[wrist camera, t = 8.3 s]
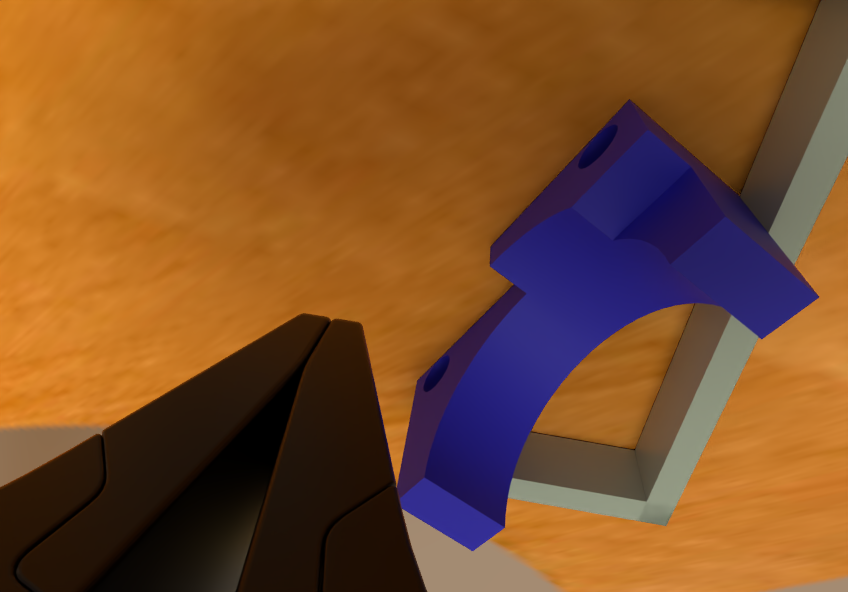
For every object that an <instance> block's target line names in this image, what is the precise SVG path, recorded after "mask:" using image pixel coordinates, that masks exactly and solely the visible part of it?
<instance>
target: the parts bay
mask: <svg viewBox="0 0 848 592" xmlns="http://www.w3.org/2000/svg"><path fill="white" fill-rule="evenodd" d="M847 156H848V0H821V1H820V3H819V6H818V8H817V11H816V13H815V16H814V18H813V20H812V23H811V25H810V28H809V30H808V32H807V35H806V37H805V40H804V42H803V45H802V47H801V49H800V52H799V54H798V57H797V59H796V62H795V64H794V66H793V69H792V71H791V74H790V76H789V78H788V81H787V83H786V86H785V88H784V91H783V93H782V95H781V98H780V100H779V103H778V105H777V107H776V110H775V112H774V115H773V117H772V120H771V122H770V124H769V127H768V129H767V132H766V134H765V136H764V139H763V141H762V144H761V146H760V149H759V151H758V153H757V156H756V158H755V161H754V163H753V165H752V168H751V170H750V173H749V175H748V178H747V180H746V182H745V185H744V187H743V190H742V192H741V195H740V198H741V199H742V200H743V202H744V203H745V204H746V205H747V207H748V208H749V209H750V210H751V212H752V213H753V214H754V215H755V217H756V218H757V219H758V220H759V222H760V223H761V224H762V225H763V227H764V228H765V229H766V231H767V232H768V233H769V234H770V236H771V237H772V238H773V239H774V241H775V242H776V243H777V244H778V246H779V247H780V248H781V249H782V251H783V252H784V253H785V254H786V256H787V257H788V258H789V259H790V261H791V262H792V263H793V265H794V264H795V262H796V260H797V258H798V256H799V254H800V252H801V250H802V248H803V246H804V244H805V242H806V240H807V238H808V236H809V234H810V232H811V230H812V227H813V225H814V223H815V221H816V219H817V217H818V215H819V213H820V211H821V209H822V207H823V205H824V203H825V201H826V199H827V197H828V195H829V193H830V191H831V189H832V187H833V185H834V183H835V181H836V179H837V177H838V174H839V172H840V170H841V168H842V166H843V164H844V162H845V160H846V158H847ZM758 338H759V337H758V336H757V335H756V334H754V333H753V332H752V331H751V330H750V329H748V328H747V327H746V326H745V325H743V324H742V323H741V322H740V321H738V320H737V319H736V318H735V317H734V316H732V315H731V314H730V313H729V312H727V311H726V310H725V309H724V308H722V307H720V306H716V305H712V304H703V303H695V306H694V308H693V311H692V313H691V315H690V318H689V320H688V323H687V325H686V328H685V330H684V332H683V335H682V337H681V340H680V342H679V344H678V347H677V349H676V352H675V354H674V357H673V359H672V361H671V364H670V366H669V369H668V371H667V373H666V376H665V378H664V381H663V383H662V386H661V388H660V390H659V393H658V395H657V398H656V400H655V402H654V405H653V407H652V410H651V412H650V415H649V417H648V419H647V422H646V424H645V427H644V429H643V432H642V434H641V436H640V439H639V441H638V444H637V446H636V448H635V450H630V449H624V448H619V447H613V446H607V445H602V444H596V443H590V442H584V441H579V440H573V439H567V438H561V437H556V436H550V435H544V434H538V433H533V432H530V433H529V435H528V438H527V440H526V442H525V444H524V446H523V449H522V451H521V454H520V456H519V459H518V461H517V464H516V467H515V470H514V473H513V477H512V481H511V485H510V489H509V494H508V498H512V499H517V500H523V501H528V502H534V503H540V504H545V505H551V506H557V507H562V508H568V509H574V510H579V511H585V512H591V513H596V514H602V515H607V516H613V517H619V518H624V519H630V520H636V521H641V522H647V523H653V524H658V525H664V526H666V525H667V523H668V521H669V519H670V517H671V515H672V513H673V511H674V509H675V507H676V505H677V503H678V501H679V499H680V497H681V495H682V493H683V491H684V489H685V486H686V484H687V482H688V480H689V478H690V476H691V474H692V472H693V470H694V468H695V466H696V464H697V462H698V460H699V458H700V456H701V454H702V452H703V450H704V448H705V446H706V444H707V442H708V440H709V438H710V435H711V433H712V431H713V429H714V427H715V425H716V423H717V421H718V419H719V417H720V415H721V413H722V411H723V409H724V407H725V405H726V403H727V401H728V399H729V397H730V395H731V393H732V391H733V389H734V387H735V385H736V382H737V380H738V378H739V376H740V374H741V372H742V370H743V368H744V366H745V364H746V362H747V360H748V358H749V356H750V354H751V352H752V350H753V348H754V346H755V344H756V342H757V340H758Z"/></svg>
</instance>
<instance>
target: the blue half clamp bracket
mask: <svg viewBox="0 0 848 592" xmlns="http://www.w3.org/2000/svg"><path fill="white" fill-rule="evenodd" d="M490 267H492V268H493V269H494V270H496V271H497V272H498V273H500V274H501V275H502V276H504V277H505V278H506V279H508V280H509V281H510V282H512V283H513V284H514V285H513V286H512V287H511V288H510V289H509V290H508V291H507V292H506V293H505V294H504V295H503V296H502V297H501V298H500V299H499V300H498V301H497V302H496V303H495V304H494V305H493V306H492V307H491V308H490V309H489V310H488V311H487V312H486V313H485V314H484V315H483V316H482V317H481V318H480V319H479V320H478V321H477V322H476V323H475V324H474V325H473V326H472V327H471V328H470V329H469V330H468V331H467V332H466V333H465V334H464V335H463V336H462V337H461V338H460V339H459V340H458V341H457V342H456V343H455V344H454V345H453V346H452V347H451V348H450V349H449V350H448V351H447V352H446V353H445V354H444V355H443V356H442V357H441V358H440V359H439V360H438V361H437V362H436V363H435V364H434V365H433V366H432V367H431V368H430V369H429V370H428V371H427V372H426V373H425V374H424V375H423V376H422V377H420V378H419V379H418V380H417V385H416V390H415V396H414V401H413V406H412V411H411V417H410V422H409V427H408V432H407V438H406V443H405V448H404V453H403V458H402V464H401V469H400V474H399V479H398V485H397V489H398V493H399V498H400V503H401V507H402V509H404V510H405V511H407V512H409V513H410V514H412V515H414V516H415V517H417V518H418V519H420V520H422V521H423V522H425V523H427V524H428V525H430V526H432V527H433V528H435V529H437V530H438V531H440V532H442V533H443V534H445V535H447V536H448V537H450V538H452V539H454V540H455V541H457V542H458V543H460V544H462V545H463V546H465V547H467V548H468V549H470V550H471V551H474V550H475V549H476V548H478V547H479V546H480V545H482V544H483V543H485V542H486V541H487V540H489V539H490V538H491V537H493V536H494V535H495V534H497V533H498V532H500V531H501V530H502V529H504V528H505V514H506V506H507V499H508V494H509V489H510V485H511V481H512V477H513V473H514V470H515V467H516V464H517V461H518V459H519V456H520V454H521V451H522V449H523V446H524V444H525V442H526V440H527V438H528V435H529V433H530V431H531V429H532V428H533V426H534V424H535V422H536V420H537V418H538V417H539V415H540V413H541V412H542V410H543V408H544V407H545V405H546V404H547V402H548V401H549V399H550V398H551V396H552V395H553V394H554V392H555V391H556V390H557V388H558V387H559V386H560V384H561V383H562V382H563V381H564V380H565V378H566V377H567V376H568V375H569V374H570V372H571V371H572V370H573V369H574V368H575V367H576V366H577V365H578V364H579V363H580V362H581V361H582V360H583V359H584V358H585V357H586V356H587V355H588V354H589V353H590V352H591V351H592V350H593V349H595V348H596V347H597V346H598V345H599V344H600V343H602V342H603V341H604V340H605V339H607V338H608V337H610V336H611V335H612V334H614V333H615V332H616V331H618V330H620V329H621V328H623V327H624V326H626V325H627V324H629V323H631V322H633V321H635V320H636V319H638V318H641V317H643V316H645V315H647V314H649V313H652V312H655V311H657V310H660V309H663V308H667V307H671V306H675V305H681V304H689V303H703V304H712V305H716V306H720V307H722V308H724V309H725V310H726V311H727V312H729V313H730V314H731V315H732V316H734V317H735V318H736V319H737V320H738V321H740V322H741V323H742V324H743V325H745V326H746V327H747V328H748V329H750V330H751V331H752V332H753V333H754V334H756V335H757V336H758V337H759V338H761V339H763V338H764V337H766V336H767V335H768V334H770V333H771V332H772V331H774V330H775V329H777V328H778V327H779V326H781V325H782V324H783V323H785V322H786V321H787V320H789V319H790V318H792V317H793V316H794V315H796V314H797V313H798V312H800V311H801V310H802V309H804V308H805V307H807V306H808V305H809V304H811V303H812V302H813V301H815V300H816V299H818V298H819V296H818V295H817V294H816V292H815V291H814V290H813V288H812V287H811V286H810V285H809V283H808V282H807V281H806V280H805V278H804V277H803V276H802V275H801V273H800V272H799V271H798V270H797V268H796V267H795V266H794V265H793V263H792V262H791V261H790V259H789V258H788V257H787V256H786V254H785V253H784V252H783V251H782V249H781V248H780V247H779V246H778V244H777V243H776V242H775V241H774V239H773V238H772V237H771V236H770V234H769V233H768V232H767V231H766V229H765V228H764V227H763V225H762V224H761V223H760V222H759V220H758V219H757V218H756V217H755V215H754V214H753V213H752V212H751V210H750V209H749V208H748V207H747V205H746V204H745V203H744V202H743V200H742V199H741V198H740V196H739V195H738V194H736V193H735V192H734V191H733V190H732V189H731V188H730V187H728V186H727V185H726V184H725V183H724V182H723V181H722V180H720V179H719V178H718V177H717V176H716V175H715V174H714V173H713V172H711V171H710V170H709V169H708V168H707V167H706V166H705V165H703V164H702V163H701V162H700V161H699V160H698V159H697V158H695V157H694V156H693V155H692V154H691V153H690V152H689V151H688V150H686V149H685V148H684V147H683V146H682V145H681V144H680V143H678V142H677V141H676V140H675V139H674V138H673V137H672V136H670V135H669V134H668V133H667V132H666V131H665V130H664V129H663V128H661V127H660V126H659V125H658V124H657V123H656V122H655V121H653V120H652V119H651V118H650V117H649V116H648V115H647V114H645V113H644V112H643V111H642V110H641V109H640V108H639V107H638V106H636V105H635V104H634V103H633V102H632V101H631V100H630V99H629V100H628V101H627V103H626V104H625V105H624V106H623V107H622V108H621V109H620V110H619V111H618V112H617V113H616V114H615V115H614V116H613V117H612V118H611V119H610V121H609V122H608V123H607V124H606V125H605V126H604V127H603V128H602V129H601V130H600V131H599V132H598V133H597V134H596V135H595V136H594V138H593V139H592V140H591V141H590V142H589V143H588V144H587V145H586V146H585V147H584V148H583V149H582V150H581V151H580V152H579V153H578V154H577V156H576V157H575V158H574V159H573V160H572V161H571V162H570V163H569V164H568V165H567V166H566V167H565V168H564V169H563V170H562V171H561V173H560V174H559V175H558V176H557V177H556V178H555V179H554V180H553V181H552V182H551V183H550V184H549V185H548V186H547V187H546V188H545V189H544V191H543V192H542V193H541V194H540V195H539V196H538V197H537V198H536V199H535V200H534V201H533V202H532V203H531V204H530V205H529V206H528V208H527V209H526V210H525V211H524V212H523V213H522V214H521V215H520V216H519V217H518V218H517V219H516V220H515V221H514V222H513V223H512V224H511V226H510V227H509V228H508V229H507V230H506V231H505V232H504V233H503V234H502V235H501V236H500V237H499V238H498V239H497V240H496V241H495V243H494V244H493V245H492V246H491V251H490Z"/></svg>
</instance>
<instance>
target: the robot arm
mask: <svg viewBox="0 0 848 592" xmlns="http://www.w3.org/2000/svg"><path fill="white" fill-rule="evenodd" d="M0 592H427V590H426V587H425V585H424V582H423V579H422V576H421V573H420V570H419V567H418V564H417V561H416V558H415V555H414V553H413V550H412V546H411V543H410V539H409V535H408V532H407V527H406V523H405V519H404V516H403V512H402V507H401V503H400V498H399V493H398V489H397V488H396V481H395V476H394V471H393V467H392V462H391V457H390V453H389V448H388V443H387V439H386V434H385V429H384V424H383V420H382V415H381V410H380V406H379V401H378V396H377V392H376V387H375V382H374V378H373V373H372V368H371V363H370V359H369V354H368V349H367V345H366V340H365V335H364V331H363V326H362V324H361V323H359V322H355V321H348V320H342V319H334V320H332V321H331V320H330V319H329V318H328V317H324V316H318V315H312V314H306V313H303V314H300V315H298V316H296V317H294V318H293V319H291V320H289V321H288V322H286V323H284V324H283V325H281V326H279V327H277V328H276V329H274V330H272V331H271V332H269V333H267V334H266V335H264V336H262V337H260V338H259V339H257V340H255V341H254V342H252V343H250V344H249V345H247V346H245V347H243V348H242V349H240V350H238V351H237V352H235V353H233V354H232V355H230V356H228V357H226V358H225V359H223V360H221V361H220V362H218V363H216V364H215V365H213V366H211V367H209V368H208V369H206V370H204V371H203V372H201V373H199V374H198V375H196V376H194V377H193V378H191V379H189V380H187V381H186V382H184V383H182V384H181V385H179V386H177V387H176V388H174V389H172V390H170V391H169V392H167V393H165V394H164V395H162V396H160V397H159V398H157V399H155V400H153V401H152V402H150V403H148V404H147V405H145V406H143V407H142V408H140V409H138V410H136V411H135V412H133V413H131V414H130V415H128V416H126V417H125V418H123V419H121V420H119V421H118V422H116V423H114V424H113V425H111V426H109V427H108V428H106V429H104V430H103V431H102V436H101V435H100V434H96V435H94V436H92V437H90V438H89V439H87V440H85V441H83V442H82V443H80V444H79V445H77V446H75V447H73V448H71V449H70V450H68V451H66V452H65V453H63V454H61V455H59V456H57V457H56V458H54V459H52V460H50V461H48V462H47V463H45V464H43V465H41V466H39V467H38V468H36V469H34V470H32V471H30V472H29V473H27V474H25V475H23V476H21V477H19V478H17V479H16V480H13V481H11V482H10V483H8V484H6V485H4V486H2V487H0Z"/></svg>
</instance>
